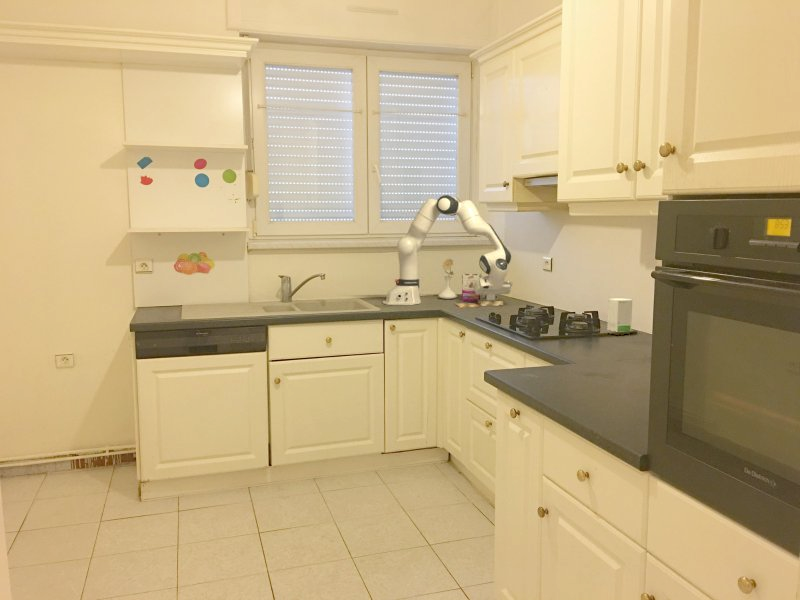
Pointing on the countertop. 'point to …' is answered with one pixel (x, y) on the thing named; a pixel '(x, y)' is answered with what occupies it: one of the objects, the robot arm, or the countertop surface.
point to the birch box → (490, 303)
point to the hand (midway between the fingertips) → (490, 297)
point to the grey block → (490, 297)
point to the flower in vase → (447, 281)
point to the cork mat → (467, 305)
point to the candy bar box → (470, 287)
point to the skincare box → (619, 314)
